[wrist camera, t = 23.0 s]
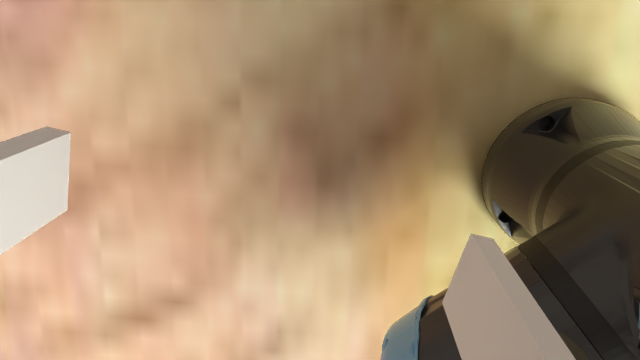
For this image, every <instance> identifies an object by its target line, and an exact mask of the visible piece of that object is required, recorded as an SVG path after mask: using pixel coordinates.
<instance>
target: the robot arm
mask: <svg viewBox="0 0 640 360" xmlns="http://www.w3.org/2000/svg"><path fill="white" fill-rule="evenodd" d="M70 138H71V132H67V131H63V130H59V129H55V128H51V127H44V128H41V129H38V130H35V131H32V132H29V133H26V134H23V135H20V136H18V137H15V138H12V139H9V140H6V141H3V142H0V255H1V254H2V253H4V252H5V251H7V250H8V249H10V248H11V247H13V246H14V245H16V244H17V243H19V242H20V241H22V240H23V239H25V238H26V237H28V236H29V235H31V234H32V233H34V232H35V231H37V230H38V229H40V228H41V227H43V226H44V225H46V224H47V223H49V222H50V221H52V220H53V219H55V218H56V217H58V216H59V215H61V214H62V213H64V212H65V211H67V207H68V184H69V161H70ZM482 191H483V197H484V201H485V204H486V206H487V208H488V210H489V212H490V214H491V216H492V217H493V218H494V220H495V221H496V222H497V224H498V225H499V226H500V228H501V229H502V230H503V231H504V232H505V233H506V234H507V235H508V236H509V237H511V238H512V239H513V240H515V241H516V242H518V243H519V244H520V245H519V246H518V247H517V246H516V247H514V248H513V249H511V250H509V251H508V252H506V253H504V254H503V252H502V251H501V249H500V248H499V246H498V245H497V243H496V242H495V241H494V239H491V238H487V237H483V236H479V235H475V234H471V235H470V237H469V239H468V242H467V244H466V247H465V249H464V251H463V254H462V256H461V258H460V261H459V263H458V266H457V268H456V270H455V273H454V275H453V278H452V280H451V282H450V285H449V287H448V288H447V289H445V290H443V291H442V292H440V293H439V294H437V295H435V296H432V295H431V296H429V297H427V298H425V299H424V300H423V301H422V302H421V303H420V305H419V306H418V307H416V308H415V309H413V310H412V311H410V312H409V313H408V314H406V315H405V316H403V317H402V318H400V319H399V320H398V321H396V322H395V323H394V324H393V325H392V326H391V327H390V328H389V330H388V331H387V333H386V335H385V337H384V341H383V345H382V354H381V360H640V121H639V120H637V119H636V118H635V117H634V116H632V115H631V114H629V113H628V112H626V111H624V110H622V109H620V108H618V107H615V106H613V105H610V104H606V103H603V102H600V101H597V100H592V99H586V98H566V99H559V100H555V101H551V102H547V103H544V104H542V105H539V106H537V107H535V108H533V109H531V110H529V111H527V112H526V113H524V114H522V115H521V116H520V117H518V118H517V119H516V120H514V121H513V122H512V123H511V124H510V125H509V126H508V127H507V128H506V129H505V130H504V131H503V132H502V133H501V134H500V135H499V137H498V138H497V139H496V141H495V142H494V144H493V146H492V148H491V149H490V151H489V154H488V156H487V158H486V161H485V165H484V169H483V174H482ZM522 253H523V254H522ZM525 257H526V258H525ZM528 261H529V262H528Z"/></svg>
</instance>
